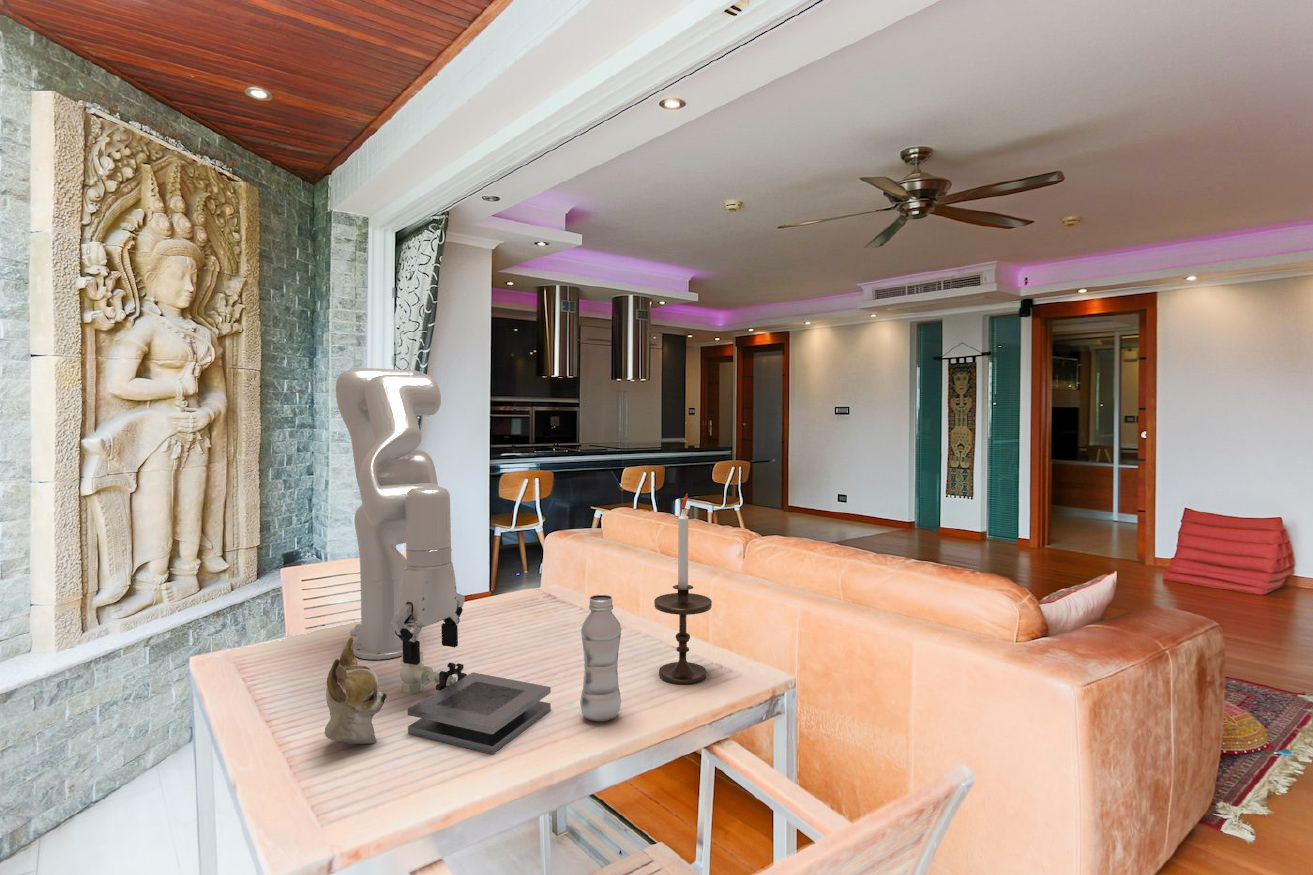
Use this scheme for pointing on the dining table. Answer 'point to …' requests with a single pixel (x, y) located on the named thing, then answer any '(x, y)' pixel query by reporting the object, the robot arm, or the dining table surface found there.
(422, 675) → the valve
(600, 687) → the plastic bottle
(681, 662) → the candlestick
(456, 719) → the stand
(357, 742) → the ceramic sculpture
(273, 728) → the dining table surface
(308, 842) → the dining table surface
